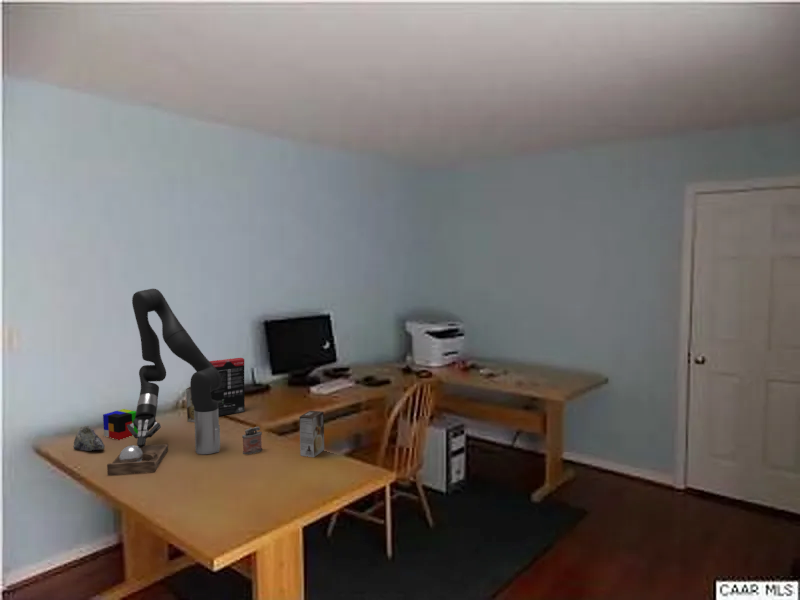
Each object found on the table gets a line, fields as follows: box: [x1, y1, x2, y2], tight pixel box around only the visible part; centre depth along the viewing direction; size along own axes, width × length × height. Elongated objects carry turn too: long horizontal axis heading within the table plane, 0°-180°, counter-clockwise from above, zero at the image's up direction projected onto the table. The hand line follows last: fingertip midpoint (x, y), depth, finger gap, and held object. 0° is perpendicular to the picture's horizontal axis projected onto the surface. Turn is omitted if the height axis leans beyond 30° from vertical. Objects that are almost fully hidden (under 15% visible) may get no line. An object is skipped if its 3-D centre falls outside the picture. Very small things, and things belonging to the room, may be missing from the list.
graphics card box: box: [209, 357, 246, 417], centre depth 288 cm, size 17×7×27 cm, turn 130°
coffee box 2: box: [299, 410, 325, 458], centre depth 233 cm, size 9×6×16 cm
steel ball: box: [119, 444, 143, 463], centre depth 219 cm, size 8×8×8 cm
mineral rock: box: [72, 425, 105, 452], centre depth 236 cm, size 13×11×10 cm
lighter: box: [241, 426, 263, 455], centre depth 234 cm, size 8×3×10 cm, turn 129°
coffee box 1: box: [185, 386, 195, 423], centre depth 277 cm, size 9×6×16 cm
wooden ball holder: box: [106, 443, 169, 476], centre depth 224 cm, size 16×24×4 cm, turn 11°
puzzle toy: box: [102, 408, 138, 441], centre depth 256 cm, size 10×10×10 cm
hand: (140, 446), depth 226 cm, fingers closed
